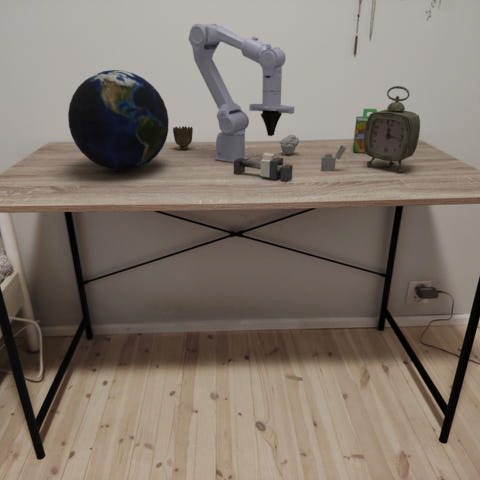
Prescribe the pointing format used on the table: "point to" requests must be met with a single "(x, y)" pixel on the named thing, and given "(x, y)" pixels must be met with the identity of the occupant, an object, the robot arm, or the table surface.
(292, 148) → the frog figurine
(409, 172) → the table surface
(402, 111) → the tabletop clock
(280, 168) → the linear slide rail
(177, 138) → the cup
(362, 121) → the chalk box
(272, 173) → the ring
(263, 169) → the sleeve
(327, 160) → the lighter
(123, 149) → the globe
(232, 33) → the robot arm
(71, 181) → the table surface
